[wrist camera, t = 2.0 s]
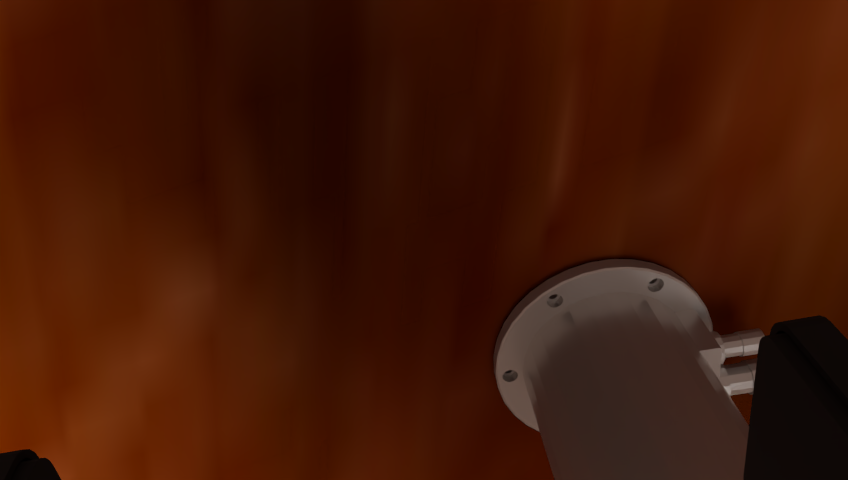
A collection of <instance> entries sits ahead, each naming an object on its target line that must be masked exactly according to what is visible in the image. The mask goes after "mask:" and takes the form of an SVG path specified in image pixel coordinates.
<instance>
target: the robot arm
mask: <svg viewBox="0 0 848 480" xmlns="http://www.w3.org/2000/svg"><path fill="white" fill-rule="evenodd" d="M754 354H758V356H757V358H755V359H749V360H743V361H741V362H740V363H735V364H728V365H723V363H724V361H725V358H727V357H734V356H740V357H741V356H748V355H754ZM493 357H494V374H495V377H496V381H497V386H498V389H499V392H500V394H501V396H502V399H503V401H504V403H505V404H506V406H507V407H508V408H509V409H510V411H511V412H512V413H513V415H514V416H516V417H517V418H518V419H519V420H520V421H522V422H523V423H524V424H525V425H527V426H529V427H531V428H533V429H534V430H536V431H538V432H540V434H541V437H542V441H543V444H544V447H545V450H546V454H547V457H548V460H549V463H550V467H551V470H552V473H553V476H554V480H848V340H847V339H846V338H845V337H844V336H843V335H842V333H841V332H840V331H839V330H838V329H837V328H836V327H835V326H834V325H833V324H832V323H831V322H830V321H829V320H828V319H827V318H825V317H823V316H820V315H819V316H813V317H807V318H801V319H795V320H790V321H784V322H778V323H775V324H774V325H773V327H772V328H771V332H770V335H768V336H764V334H763V332H762V331H761V330H760V329H759V328H758V329H751V330H745V331H739V332H734V333H733V334H727V335H721V336H720V335H719V333H718V332H716V331H713V326H712V321H711V318H710V315H709V313H708V310H707V307H706V306H705V304H704V303H703V301H702V300H701V298H700V297H699V295H698V294H697V292H696V291H695V290H694V289H693V288H692V287H691V286H690V285H689V283H688V282H687V281H686V280H685V279H683V278H682V277H680V276H679V275H677V274H676V273H674V272H673V271H671V270H669V269H667V268H664V267H662V266H659V265H657V264H654V263H650V262H645V261H640V260H634V259H609V260H602V261H596V262H589V263H586V264H583V265H580V266H577V267H574V268H571V269H568V270H566V271H564V272H562V273H560V274H558V275H556V276H554V277H552V278H550V279H548V280H546V281H545V282H543V283H542V284H541V285H539V286H538V287H536V288H535V289H534V290H532V291H531V292H530V293H529V294H528V295H527V296H526V297H525V298H524V299H523V300H521V301H520V302H519V303H518V304H517V305H516V306H515V308H514V309H513V311H512V312H511V314H510V315H509V316H508V318H507V319H506V321H505V322H504V324H503V326H502V329H501V331H500V333H499V335H498V338H497V341H496V346H495V351H494V356H493ZM743 393H749V394H750V395H751V394H753V398H752V407H751V415H750V424H749V425H748V424H747V422H746V421H745V419H744V418H743V416H742V415H741V413H740V411H739V410H738V408H737V407H736V405H735V404H734V402H733V401H732V399H731V395H737V394H743ZM0 480H61V479H60V477H59V475H58V473H57V471H56V470H55V468H54V466H53V464H52V463H51V462H50V461H49V460H48V459H46V458H40V459H39V457H38V456H37V455H36V453H35V452H33V451H31V450H30V449H26V450H19V451H13V452H7V453H1V454H0Z"/></svg>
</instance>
